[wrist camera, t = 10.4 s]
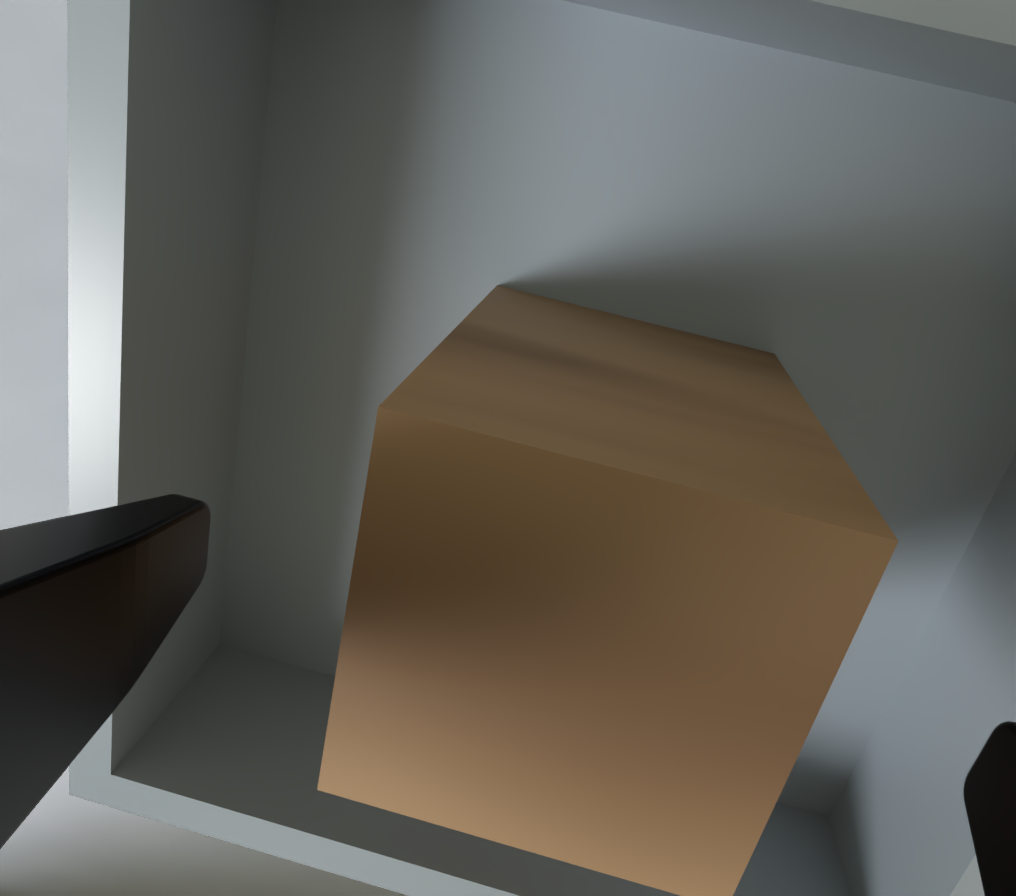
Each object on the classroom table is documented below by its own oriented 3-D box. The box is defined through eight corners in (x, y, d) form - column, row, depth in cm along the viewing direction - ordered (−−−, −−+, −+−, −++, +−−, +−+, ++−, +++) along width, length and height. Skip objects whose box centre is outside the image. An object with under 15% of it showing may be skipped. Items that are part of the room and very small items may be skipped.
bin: (840, 817, 18) (909, 1045, 14) (205, 637, 19) (69, 794, 15) (1215, 97, 12) (1564, 70, 8) (266, -114, 13) (66, -253, 9)
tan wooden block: (688, 592, 16) (726, 909, 9) (446, 527, 16) (317, 789, 9) (774, 353, 14) (898, 540, 7) (496, 284, 14) (377, 407, 8)
